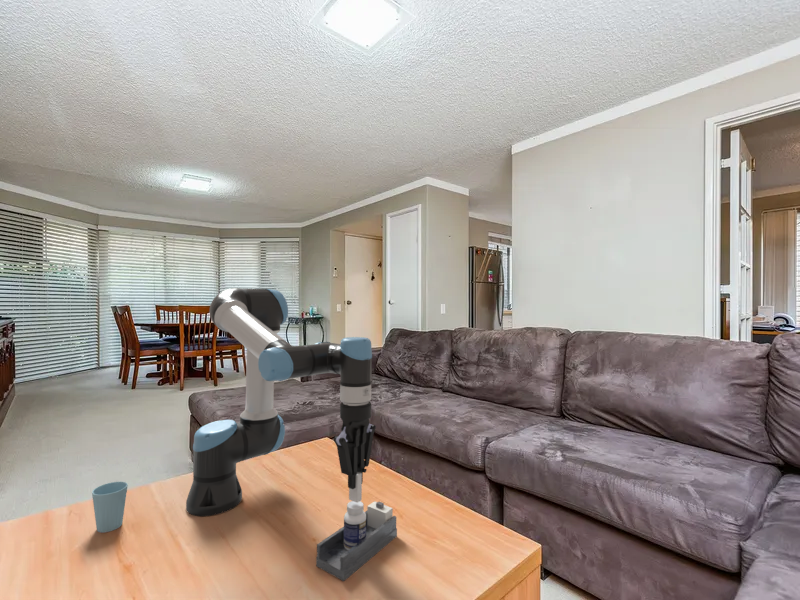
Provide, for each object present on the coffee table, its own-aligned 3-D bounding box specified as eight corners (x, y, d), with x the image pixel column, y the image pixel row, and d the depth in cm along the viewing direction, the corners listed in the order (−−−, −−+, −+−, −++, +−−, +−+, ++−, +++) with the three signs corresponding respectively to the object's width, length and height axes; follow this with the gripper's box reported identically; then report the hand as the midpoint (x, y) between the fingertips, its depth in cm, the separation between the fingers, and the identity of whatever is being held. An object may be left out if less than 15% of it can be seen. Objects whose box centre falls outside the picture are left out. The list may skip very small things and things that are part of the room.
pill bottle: (362, 553, 91) (362, 511, 91) (340, 550, 92) (340, 509, 92) (368, 539, 96) (369, 500, 96) (348, 537, 97) (348, 497, 97)
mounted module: (367, 525, 102) (367, 502, 102) (374, 520, 105) (374, 497, 105) (385, 532, 99) (385, 509, 99) (392, 527, 101) (392, 504, 101)
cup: (132, 517, 109) (133, 480, 109) (118, 533, 101) (118, 493, 101) (102, 520, 108) (102, 482, 108) (85, 536, 100) (85, 496, 100)
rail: (316, 566, 89) (316, 544, 89) (371, 525, 106) (371, 506, 106) (343, 581, 84) (343, 558, 84) (396, 536, 101) (396, 516, 101)
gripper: (349, 410, 87) (348, 516, 86) (384, 398, 97) (384, 493, 97) (325, 405, 91) (324, 506, 91) (361, 394, 102) (361, 485, 101)
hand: (355, 499), depth 94 cm, fingers closed
